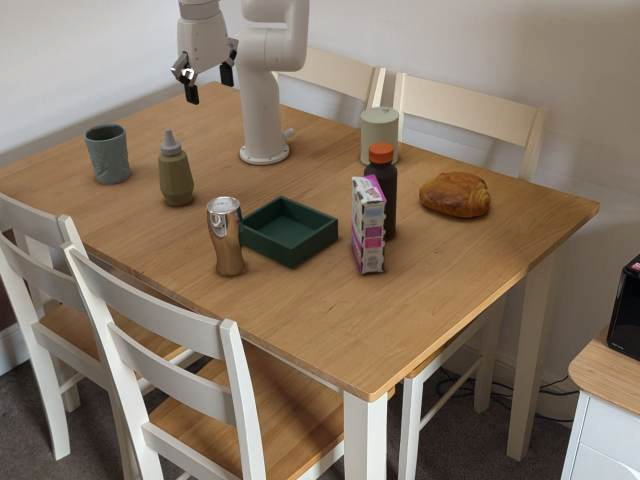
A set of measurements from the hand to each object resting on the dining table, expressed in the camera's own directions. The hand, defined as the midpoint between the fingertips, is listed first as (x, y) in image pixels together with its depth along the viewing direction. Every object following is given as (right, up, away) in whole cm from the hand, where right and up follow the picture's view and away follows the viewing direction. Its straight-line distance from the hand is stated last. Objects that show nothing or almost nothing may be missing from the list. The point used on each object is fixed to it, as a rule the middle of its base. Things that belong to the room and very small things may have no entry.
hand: (210, 94), depth 161 cm
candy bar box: (+32, -33, +3) cm, 46 cm away
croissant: (+54, -20, +17) cm, 60 cm away
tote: (+16, -28, +11) cm, 34 cm away
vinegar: (+36, -27, +10) cm, 46 cm away
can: (+40, -6, +36) cm, 54 cm away
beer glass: (+4, -35, +4) cm, 35 cm away
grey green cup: (-27, -9, +40) cm, 49 cm away
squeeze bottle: (-9, -17, +28) cm, 34 cm away
